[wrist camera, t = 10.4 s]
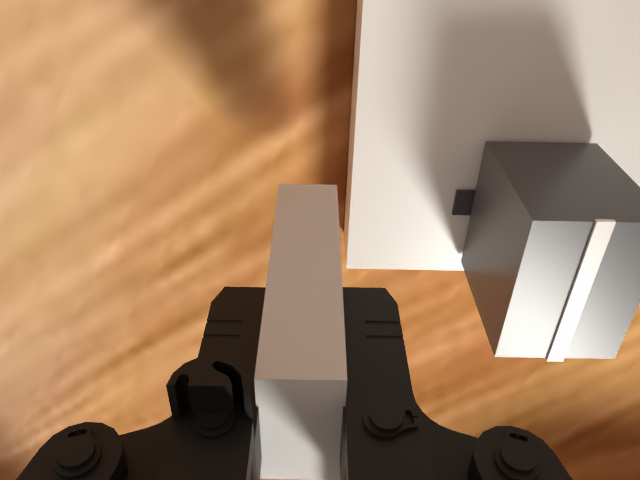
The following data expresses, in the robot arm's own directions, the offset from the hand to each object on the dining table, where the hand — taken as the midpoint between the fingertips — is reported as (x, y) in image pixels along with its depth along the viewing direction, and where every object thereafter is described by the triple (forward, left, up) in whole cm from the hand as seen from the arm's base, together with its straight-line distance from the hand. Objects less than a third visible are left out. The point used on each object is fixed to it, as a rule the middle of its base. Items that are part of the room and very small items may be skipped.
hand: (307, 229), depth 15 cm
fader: (-6, 0, -1) cm, 6 cm away
